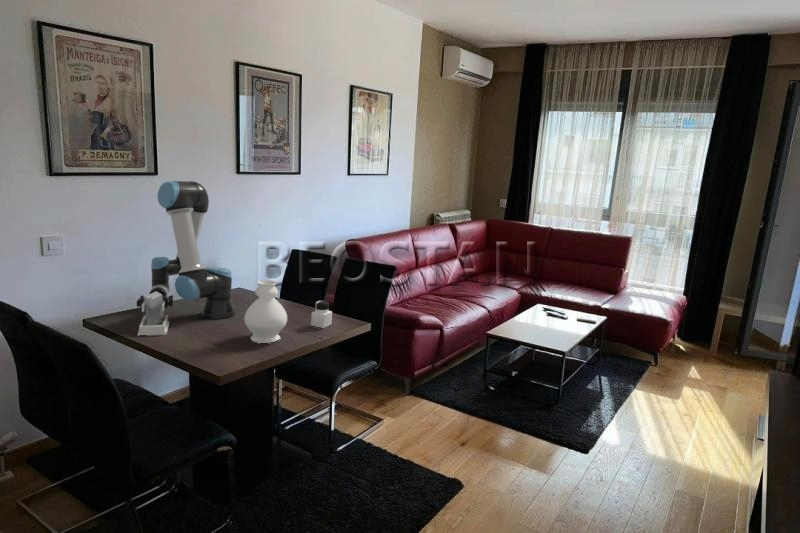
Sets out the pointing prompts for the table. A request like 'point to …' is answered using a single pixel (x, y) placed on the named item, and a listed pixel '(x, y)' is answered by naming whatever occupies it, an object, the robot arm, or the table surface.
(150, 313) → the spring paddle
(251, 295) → the table surface
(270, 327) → the decorative vase
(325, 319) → the medicine bottle
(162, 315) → the skincare box
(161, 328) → the white rectangular tray
